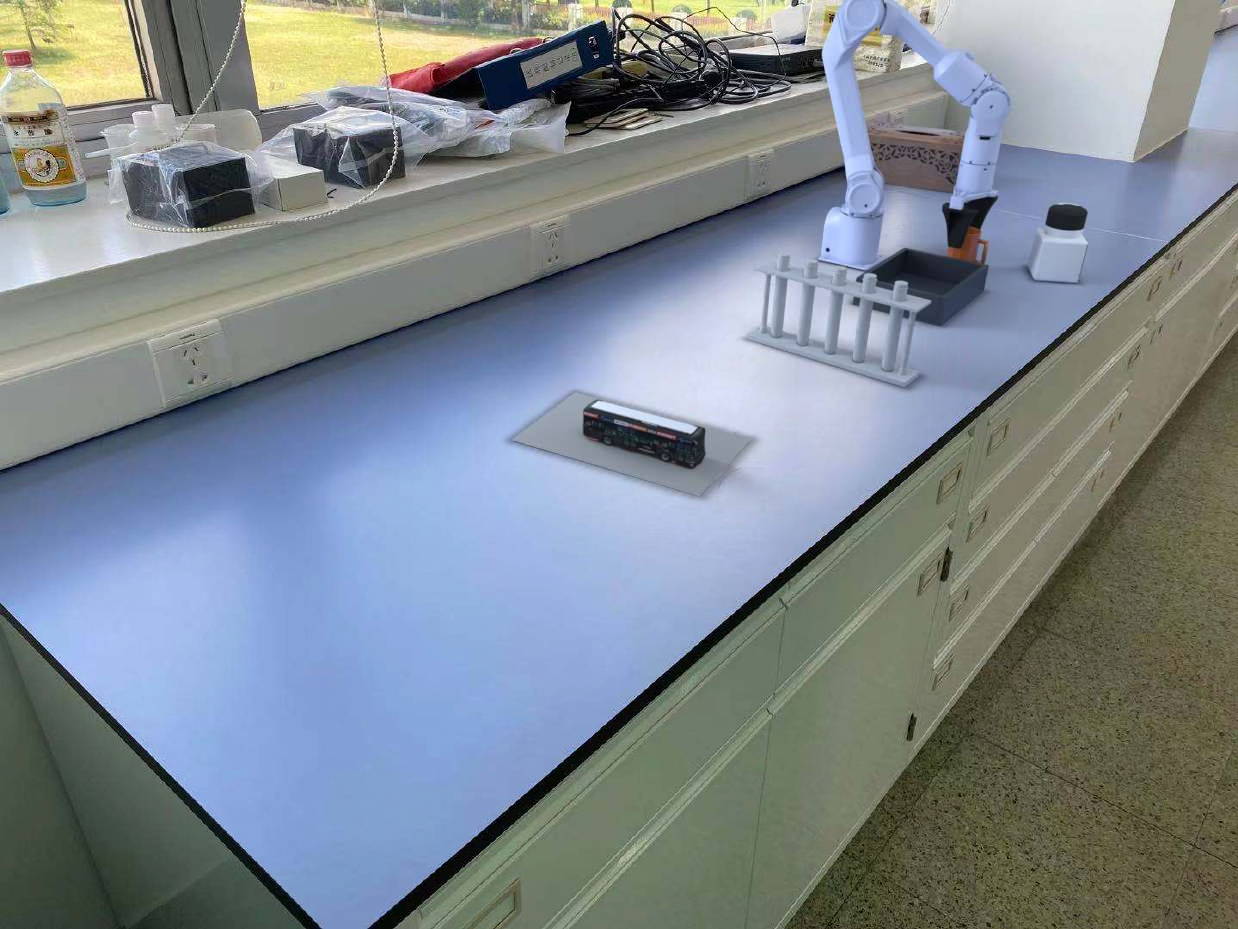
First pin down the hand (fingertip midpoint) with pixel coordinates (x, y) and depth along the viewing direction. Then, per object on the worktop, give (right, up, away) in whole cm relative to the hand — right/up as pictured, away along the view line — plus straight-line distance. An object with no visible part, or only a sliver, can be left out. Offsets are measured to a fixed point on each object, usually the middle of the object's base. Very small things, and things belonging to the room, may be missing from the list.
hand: (962, 241), depth 165 cm
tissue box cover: (+8, +27, +55) cm, 62 cm away
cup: (0, -4, +3) cm, 5 cm away
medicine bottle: (+15, -6, 0) cm, 17 cm away
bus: (-58, -36, -49) cm, 84 cm away
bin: (-10, -11, -9) cm, 18 cm away
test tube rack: (-29, -23, -29) cm, 47 cm away
